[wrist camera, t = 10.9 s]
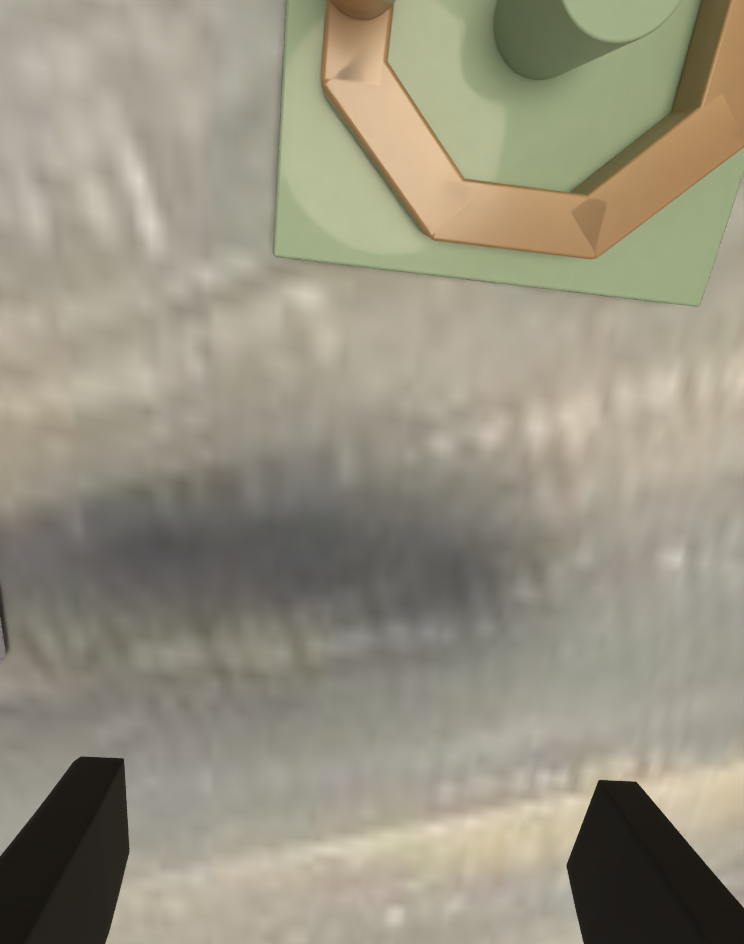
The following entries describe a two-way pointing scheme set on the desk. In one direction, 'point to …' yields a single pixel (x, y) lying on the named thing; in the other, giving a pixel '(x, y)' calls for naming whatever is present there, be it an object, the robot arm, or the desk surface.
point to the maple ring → (525, 208)
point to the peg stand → (503, 139)
